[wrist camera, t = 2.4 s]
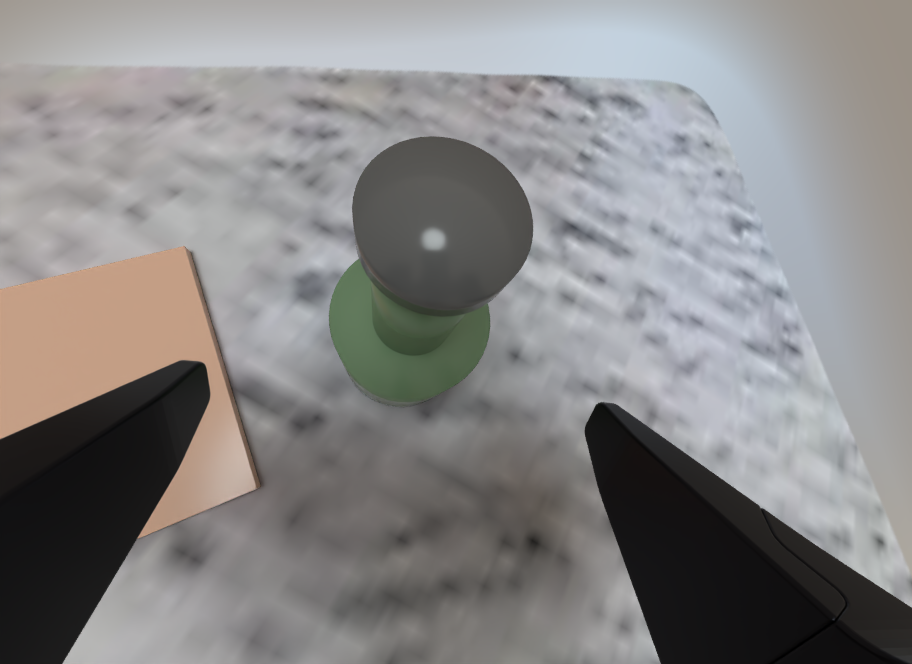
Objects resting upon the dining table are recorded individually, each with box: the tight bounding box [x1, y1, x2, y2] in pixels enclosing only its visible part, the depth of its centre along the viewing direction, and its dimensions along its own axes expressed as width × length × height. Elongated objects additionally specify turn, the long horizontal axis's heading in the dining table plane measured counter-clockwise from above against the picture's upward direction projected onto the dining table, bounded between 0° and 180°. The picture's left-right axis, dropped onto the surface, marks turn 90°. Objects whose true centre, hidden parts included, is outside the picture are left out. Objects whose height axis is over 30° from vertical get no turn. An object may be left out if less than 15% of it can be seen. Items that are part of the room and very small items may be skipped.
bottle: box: [329, 137, 533, 407], centre depth 13 cm, size 6×6×13 cm
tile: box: [0, 246, 261, 539], centre depth 16 cm, size 12×12×1 cm
